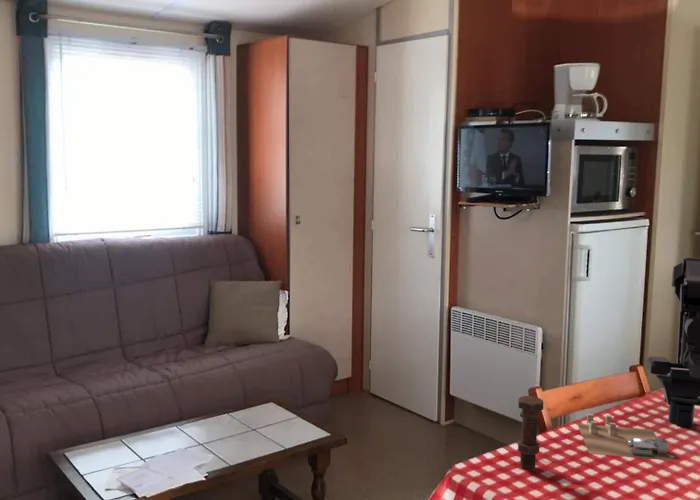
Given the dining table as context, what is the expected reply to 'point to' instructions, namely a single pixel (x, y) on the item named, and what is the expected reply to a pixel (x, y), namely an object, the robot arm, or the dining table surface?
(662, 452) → the grey piece
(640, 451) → the socket
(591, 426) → the rack
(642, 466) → the dining table surface
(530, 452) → the bolt
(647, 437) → the board
